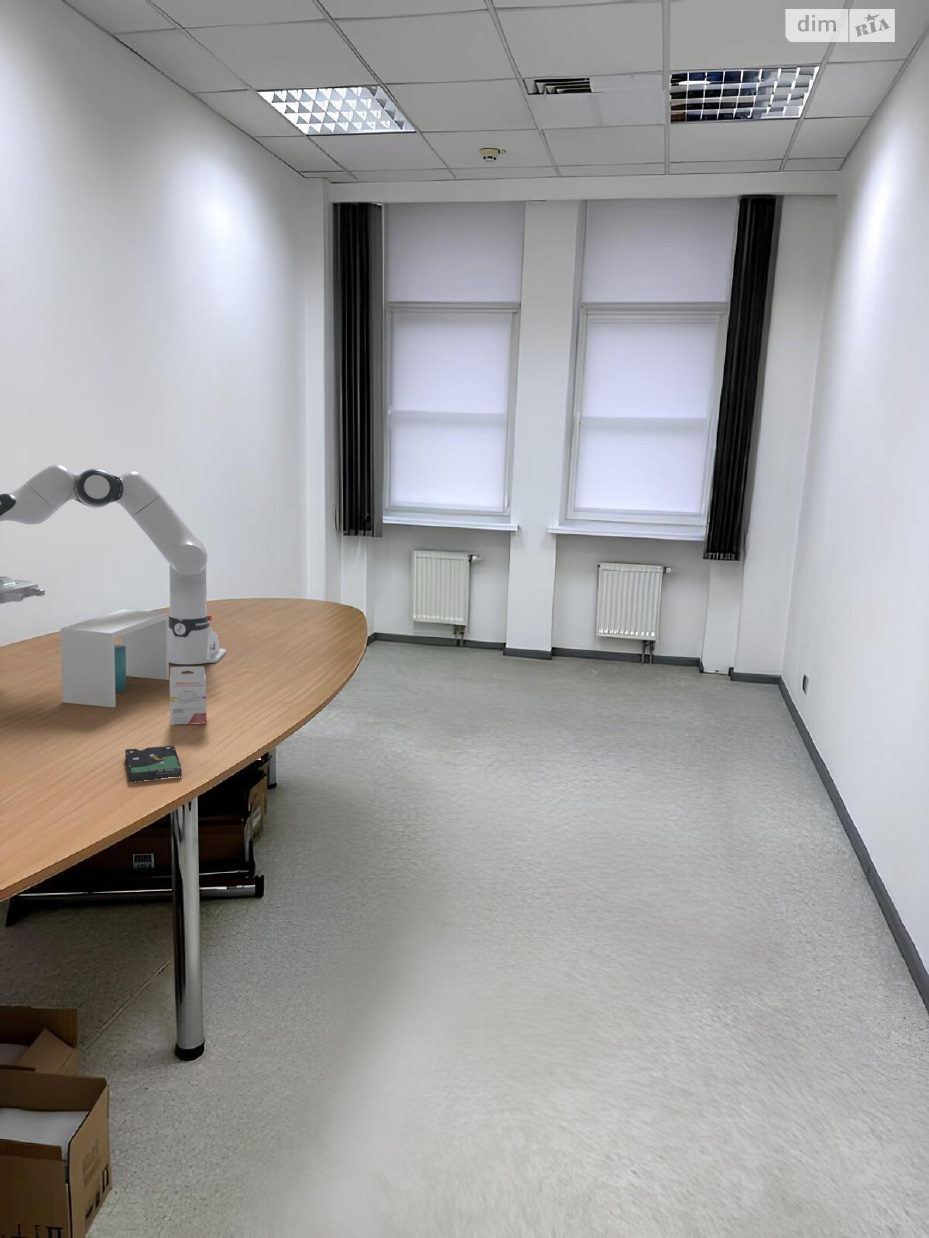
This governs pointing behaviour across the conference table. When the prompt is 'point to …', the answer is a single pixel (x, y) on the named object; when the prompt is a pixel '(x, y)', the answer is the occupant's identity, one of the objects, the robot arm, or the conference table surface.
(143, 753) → the disk drive
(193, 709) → the ink cartridge box
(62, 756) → the conference table surface
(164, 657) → the arch
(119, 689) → the teal cylinder
